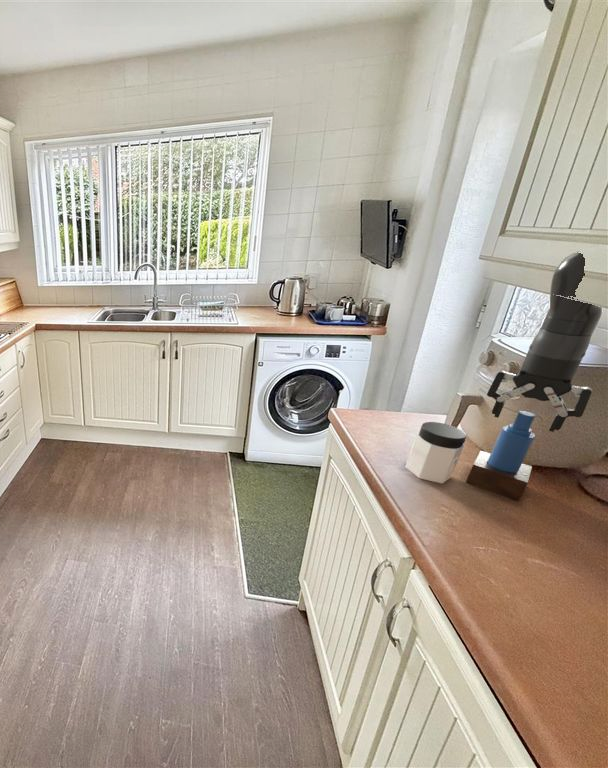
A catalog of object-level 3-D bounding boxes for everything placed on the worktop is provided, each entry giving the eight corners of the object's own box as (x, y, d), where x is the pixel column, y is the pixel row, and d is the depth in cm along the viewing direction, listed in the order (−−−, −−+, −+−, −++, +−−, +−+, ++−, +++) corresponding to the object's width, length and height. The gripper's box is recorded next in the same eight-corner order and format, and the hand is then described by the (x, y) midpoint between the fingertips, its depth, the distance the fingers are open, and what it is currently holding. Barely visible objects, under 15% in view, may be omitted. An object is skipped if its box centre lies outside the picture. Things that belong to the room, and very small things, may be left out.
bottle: (519, 466, 92) (545, 413, 86) (516, 475, 89) (543, 421, 83) (489, 456, 95) (512, 405, 90) (485, 465, 92) (509, 413, 87)
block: (523, 484, 94) (532, 466, 92) (518, 501, 88) (527, 482, 86) (473, 467, 100) (480, 450, 98) (465, 482, 95) (473, 464, 93)
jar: (439, 487, 93) (457, 443, 88) (400, 470, 99) (414, 427, 94) (455, 475, 97) (473, 432, 92) (416, 459, 103) (431, 418, 99)
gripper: (609, 357, 79) (571, 429, 85) (509, 341, 89) (482, 407, 95) (609, 366, 74) (570, 441, 81) (504, 348, 84) (476, 417, 91)
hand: (522, 423), depth 88 cm, fingers open, 8 cm apart
